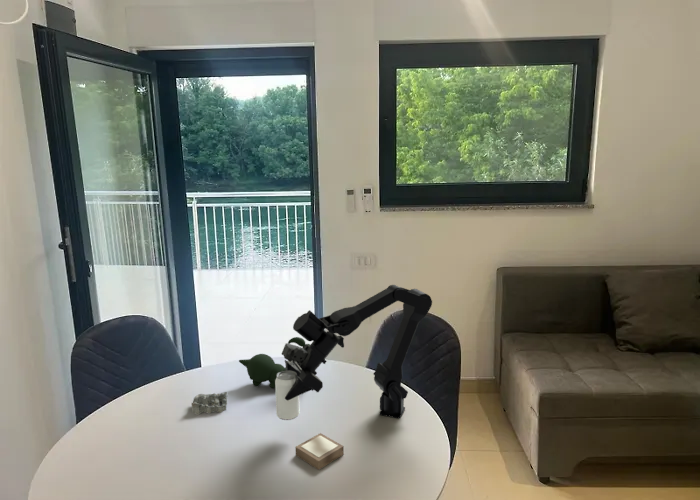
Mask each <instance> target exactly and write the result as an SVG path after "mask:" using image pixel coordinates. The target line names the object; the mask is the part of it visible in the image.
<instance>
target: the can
mask: <svg viewBox="0 0 700 500" xmlns="http://www.w3.org/2000/svg"><path fill="white" fill-rule="evenodd" d="M295 375H297V373H296V372H294V371H282V372H279V373H278V374H277V378H276V380H275V388H274V390H275V406H276V407H275V408H276V409H275V411H276V413H275V414H276V417H277V418H279V419H280V420H284V421H291V420H294V419H295V420H296V419H297V417H298V416H299V415H300V412H301V411H300V395H299V396H296V397H294V398H292V399H290V400H288V401H287V400H286V399H285V397H286V395H287V393H288V392H289V390H290V389H291V387H292V386H293V385H294V383H295Z"/></svg>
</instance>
